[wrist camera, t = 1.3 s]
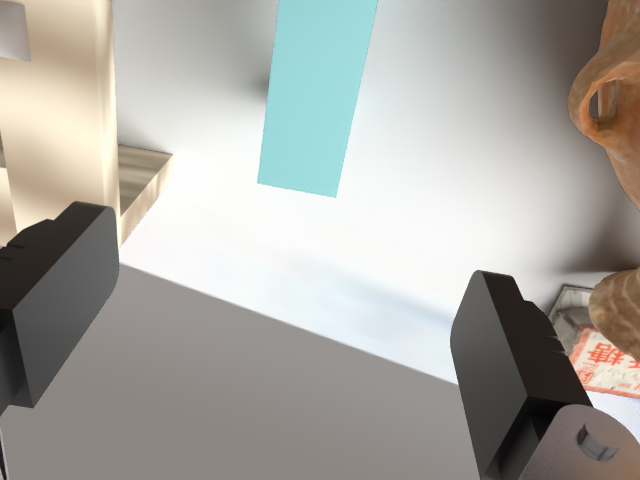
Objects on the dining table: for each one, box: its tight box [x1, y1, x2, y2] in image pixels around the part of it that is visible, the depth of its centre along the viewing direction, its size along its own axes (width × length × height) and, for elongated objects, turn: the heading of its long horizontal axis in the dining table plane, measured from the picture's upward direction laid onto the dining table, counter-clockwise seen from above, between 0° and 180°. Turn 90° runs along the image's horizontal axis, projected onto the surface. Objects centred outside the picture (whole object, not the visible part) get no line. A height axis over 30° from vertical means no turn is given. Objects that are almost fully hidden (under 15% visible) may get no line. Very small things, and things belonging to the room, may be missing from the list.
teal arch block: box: [257, 0, 378, 198], centre depth 28 cm, size 10×4×12 cm, turn 170°
